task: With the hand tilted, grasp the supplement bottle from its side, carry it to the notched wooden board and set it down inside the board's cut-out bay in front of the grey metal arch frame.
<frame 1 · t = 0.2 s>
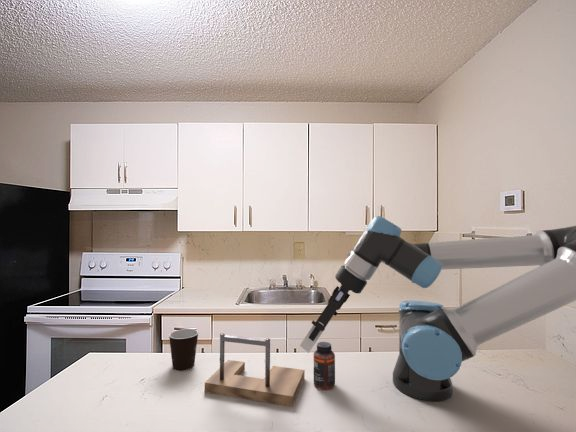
hand: (311, 339, 81), 14 cm above the counter, tool tilted 30°, fingers open, 13 cm apart
notched wooden board: (256, 385, 86), on the counter
supplement bottle: (324, 386, 86), on the counter
coffee mug: (186, 364, 98), on the counter
grey metal arch frame: (244, 359, 83), on the notched wooden board, point 8 cm above the counter
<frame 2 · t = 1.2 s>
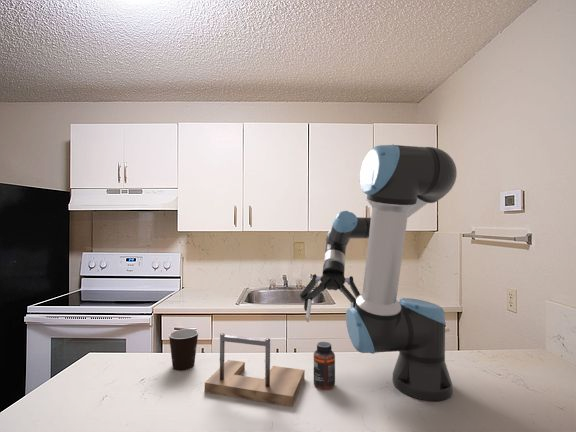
hand: (329, 321, 96), 14 cm above the counter, tool tilted 45°, fingers open, 13 cm apart
nothing on the counter moved.
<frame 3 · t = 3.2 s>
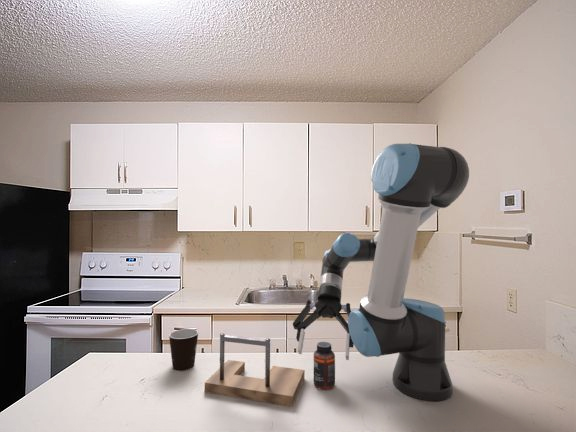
hand: (322, 355, 88), 7 cm above the counter, tool tilted 45°, fingers open, 13 cm apart
nothing on the counter moved.
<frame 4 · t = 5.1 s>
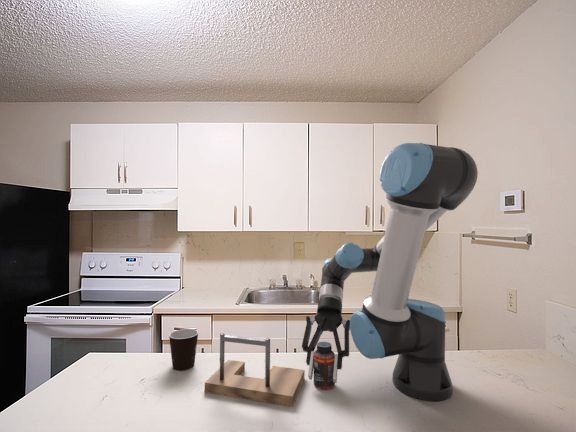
hand: (322, 379, 82), 3 cm above the counter, tool tilted 45°, fingers closed on supplement bottle, 6 cm apart
supplement bottle: (324, 386, 86), on the counter, touching gripper
everything else where it was.
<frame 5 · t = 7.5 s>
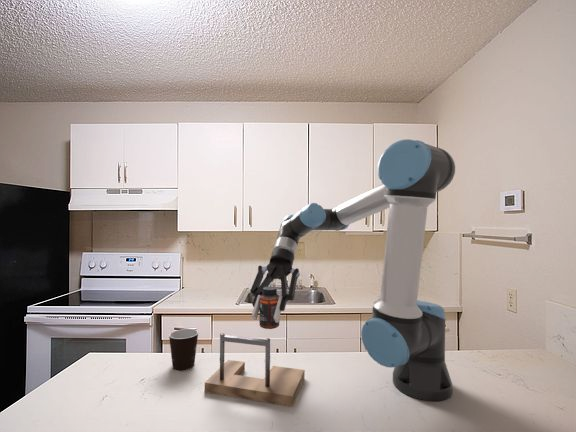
hand: (264, 318, 88), 18 cm above the counter, tool tilted 45°, fingers closed on supplement bottle, 6 cm apart
supplement bottle: (269, 326, 92), point 14 cm above the counter, touching gripper
everything else where it was.
when the fingers open (5 cm above the counter, at t = 10.3 s): supplement bottle drops 1 cm, on the counter.
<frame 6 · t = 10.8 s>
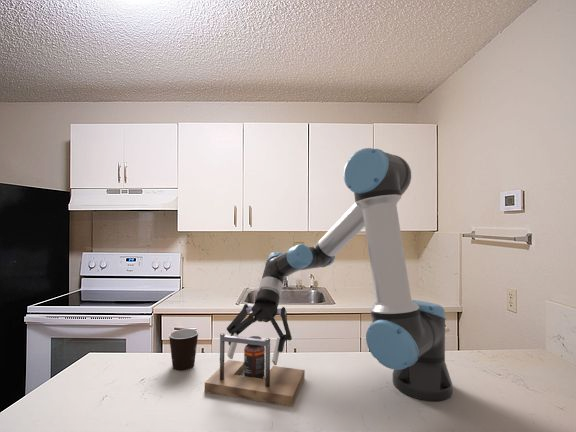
hand: (251, 360, 87), 6 cm above the counter, tool tilted 45°, fingers open, 13 cm apart
supplement bottle: (254, 378, 90), on the counter
everything else where it was.
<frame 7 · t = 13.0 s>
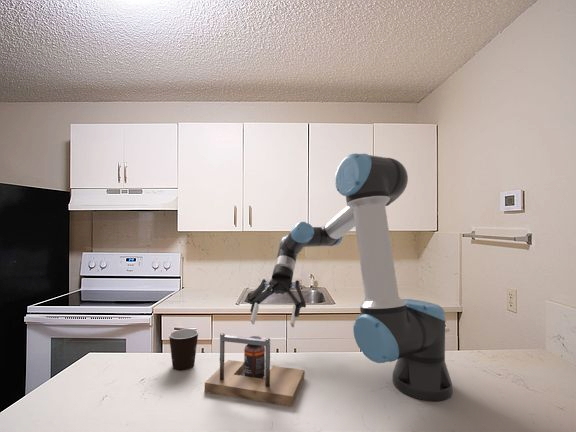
hand: (271, 323, 101), 12 cm above the counter, tool tilted 45°, fingers open, 13 cm apart
nothing on the counter moved.
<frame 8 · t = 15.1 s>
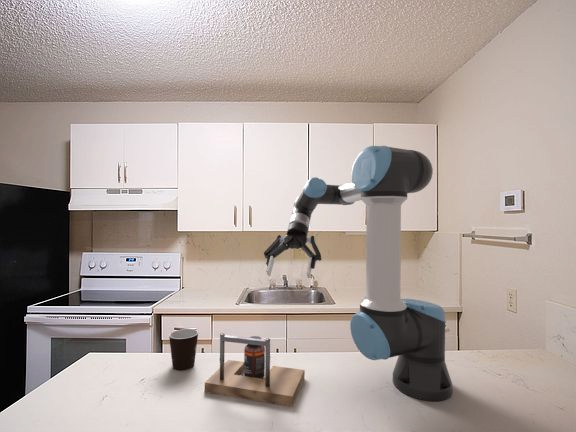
hand: (287, 274, 102), 28 cm above the counter, tool tilted 45°, fingers open, 13 cm apart
nothing on the counter moved.
at the end: supplement bottle inside the target area on the notched wooden board (0.6 cm from its centre), point 0.0 cm above the notched wooden board's base; supplement bottle tilted 0°; the gripper is holding nothing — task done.
